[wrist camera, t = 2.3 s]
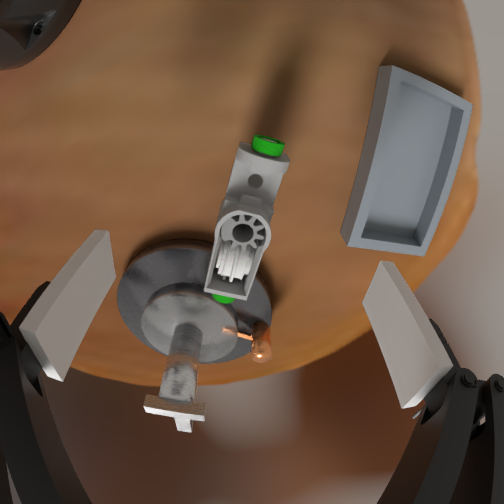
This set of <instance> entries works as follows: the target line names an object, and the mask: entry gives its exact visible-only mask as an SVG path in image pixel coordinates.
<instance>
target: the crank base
mask: <svg viewBox="0 0 504 504" xmlns="http://www.w3.org/2000/svg"><path fill="white" fill-rule="evenodd" d="M213 245H214V243H210V242H207V241H201V240H194V239H177V240H169V241H164V242H161V243H158V244H155V245H152V246H150V247H149V248H147V249H145V250H143V251H142V252H141V253H139V254H138V255H137V256H136V257H135V258H134V259H133V260H132V262H131V263H130V265H129V266H128V268H127V269H126V271H125V273H124V275H123V277H122V279H121V281H120V283H119V286H118V291H117V303H118V308H119V311H120V314H121V316H122V318H123V320H124V322H125V324H126V325H127V327H128V328H129V329H130V331H131V332H132V333H133V334H134V335H135V336H136V337H137V338H138V339H139V340H140V341H142V342H143V343H144V344H145V345H147V346H149V347H150V348H152V349H153V350H155V351H157V352H159V353H161V354H163V355H166V354H164V353H163V352H161V351H159V350H158V349H157V348H155V347H154V346H153V345H152V344H151V343H150V342H149V341H148V340H147V338H146V337H145V335H144V333H143V330H142V327H141V318H142V315H143V312H144V310H145V307H146V304H147V302H148V300H149V298H150V297H151V295H152V294H153V293H154V292H156V291H157V290H158V289H160V288H162V287H165V286H168V285H171V284H179V283H187V284H195V285H200V286H204V287H205V282H206V277H207V273H208V268H209V263H210V258H211V253H212V249H213ZM231 305H232V306H233V307H234V309H235V311H236V313H237V316H238V339H237V343H236V345H235V347H234V348H233V350H232V351H231V352H230V353H229V354H227V355H226V356H224V357H222V358H220V359H217V360H214V361H209V362H199V363H202V364H210V363H220V362H226V361H230V360H234V359H236V358H239V357H242V356H244V355H246V354H247V353H249V352H251V357H252V360H253V361H255V362H258V363H264V362H267V361H269V360H270V359H271V358H272V353H271V338H270V326H271V320H272V311H271V299H270V294H269V290H268V287H267V285H266V282H265V281H264V279H263V277H262V276H261V274H260V273H259V272H258V271H257V272H256V275H255V278H254V280H253V283H252V286H251V289H250V292H249V294H248V297H247V300H242V299H237V298H235V300H234V301H233V302H231ZM166 356H168V355H166Z"/></svg>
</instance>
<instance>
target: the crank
mask: <svg viewBox="0 0 504 504" xmlns="http://www.w3.org/2000/svg"><path fill="white" fill-rule="evenodd" d="M204 288H205V287H204V286H200V285H195V284H187V283H179V284H171V285H168V286H165V287H162V288H160V289H158V290H157V291H156V292H154V293H153V294H152V295H151V297H150V298H149V300H148V302H147V304H146V307H145V310H144V312H143V315H142V318H141V327H142V330H143V333H144V335H145V337H146V338H147V340H148V341H149V342H150V343H151V344H152V345H153V346H154V347H155V348H157V349H158V350H159V351H161V352H163V353H164V354H166V355H168V357H167V361H166V366H165V370H164V375H163V379H162V384H161V388H160V393H159V397H157V396H152V395H146V398H145V402H144V409H145V411H146V412H148V413H153V414H159V415H164V416H170V417H174V418H175V422H176V426H177V429H178V431H185V432H192V423H193V420H199V421H204V417H205V403H197V402H195V399H196V390H197V374H198V367H199V362H209V361H214V360H217V359H220V358H222V357H224V356H226V355H227V354H229V353H230V352H231V351H232V350H233V348H234V347H235V345H236V343H237V339H238V316H237V313H236V311H235V309H234V307H233V306H232V305H231V303H227V304H226V303H220V302H218V301H216V300H215V299H214V298H213V296H212V293H208V292H204Z"/></svg>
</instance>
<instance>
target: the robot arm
mask: <svg viewBox="0 0 504 504" xmlns="http://www.w3.org/2000/svg"><path fill="white" fill-rule="evenodd" d="M79 2H80V0H0V70H7V69H14V68H18V67H21V66H23V65H25V64H27V63H29V62H30V61H32V60H33V59H35V58H36V57H37V56H39V55H40V54H41V53H42V52H43V51H44V50H45V49H46V48H47V47H48V46H49V45H50V44H51V43H52V42H53V41H54V40H55V39H56V38H57V36H58V35H59V34H60V33H61V31H62V30H63V29H64V27H65V26H66V24H67V23H68V21H69V20H70V18H71V17H72V15H73V13H74V12H75V10H76V8H77V6H78V4H79ZM115 278H116V275H115V269H114V263H113V257H112V250H111V243H110V236H109V231H107V230H97V229H95V230H94V231H93V233H92V234H91V235H90V236H89V237H88V238H87V239H86V240H85V242H84V243H83V244H82V245H81V246H80V247H79V248H78V250H77V251H76V252H75V253H74V254H73V255H72V257H71V258H70V259H69V260H68V262H67V263H66V264H65V265H64V266H63V268H62V269H61V270H60V271H59V273H58V274H57V275H56V276H55V278H54V279H53V280H52V282H49V281H46V282H45V283H43V284H42V285H41V286H39V287H38V288H37V289H36V290H35V292H34V293H33V294H32V296H31V298H29V300H28V301H27V302H26V305H24V307H23V308H22V309H21V311H20V312H19V314H18V315H17V317H16V318H15V319H14V321H13V322H12V324H11V325H9V323H8V321H7V319H6V317H5V315H4V314H3V313H1V312H0V504H13V501H12V496H11V492H10V485H9V479H8V472H7V465H8V468H9V471H10V474H11V477H12V480H13V483H14V485H15V488H16V491H17V493H18V496H19V498H20V501H21V503H22V504H92V502H91V500H90V499H89V497H88V495H87V493H86V492H85V490H84V488H83V486H82V484H81V482H80V480H79V478H78V476H77V474H76V472H75V470H74V468H73V466H72V463H71V461H70V459H69V457H68V455H67V452H66V450H65V447H64V445H63V443H62V440H61V438H60V435H59V432H58V430H57V427H56V424H55V421H54V419H53V416H52V413H51V410H50V406H49V403H48V400H47V397H46V393H45V390H44V386H43V382H42V379H41V377H40V375H39V372H40V370H41V368H43V370H44V371H45V373H46V374H47V376H49V377H51V378H54V379H57V380H59V381H63V380H64V377H65V375H66V373H67V371H68V369H69V366H70V364H71V362H72V360H73V358H74V356H75V354H76V351H77V349H78V347H79V345H80V343H81V341H82V339H83V337H84V335H85V333H86V331H87V329H88V327H89V325H90V323H91V322H92V320H93V318H94V316H95V314H96V312H97V310H98V308H99V307H100V305H101V303H102V301H103V299H104V298H105V296H106V294H107V292H108V290H109V289H110V287H111V285H112V284H113V282H114V280H115ZM362 303H363V306H364V308H365V311H366V313H367V315H368V318H369V320H370V323H371V325H372V328H373V330H374V333H375V335H376V338H377V340H378V343H379V345H380V348H381V351H382V353H383V356H384V359H385V361H386V364H387V367H388V369H389V372H390V375H391V378H392V380H393V384H394V386H395V389H396V392H397V395H398V398H399V401H400V404H401V407H402V408H407V407H413V406H416V405H417V404H418V403H419V402H420V401H421V400H422V399H423V398H424V400H425V402H426V404H425V405H424V406H423V407H422V408H421V409H420V410H419V411H418V412H416V413H415V414H414V416H413V418H415V417H417V416H418V415H419V414H420V415H419V417H418V419H417V423H416V426H415V428H414V431H413V433H412V435H411V437H410V440H409V442H408V444H407V447H406V449H405V451H404V453H403V455H402V458H401V460H400V462H399V464H398V466H397V468H396V470H395V472H394V474H393V476H392V478H391V479H390V481H389V483H388V485H387V487H386V489H385V491H384V492H383V494H382V496H381V497H380V499H379V501H378V502H377V504H504V378H503V377H502V376H500V375H499V374H493V375H492V376H491V377H490V378H489V379H488V380H487V381H482V380H477V378H476V376H475V375H474V373H473V372H471V371H470V370H469V369H466V368H461V367H460V365H459V363H458V361H457V359H456V358H455V356H454V354H453V352H452V350H451V348H450V346H449V344H447V341H446V339H445V337H443V333H442V332H441V330H440V328H439V327H438V325H437V324H435V322H434V321H433V320H432V319H428V317H427V316H426V314H425V312H424V311H423V309H422V307H421V306H420V304H419V302H418V301H417V299H416V297H415V296H414V294H413V292H412V291H411V289H410V288H409V286H408V285H407V283H406V281H405V280H404V278H403V277H402V275H401V274H400V272H399V271H398V269H397V268H396V266H395V265H394V263H393V262H389V261H380V263H379V265H378V267H377V270H376V272H375V275H374V277H373V279H372V282H371V284H370V286H369V289H368V291H367V293H366V295H365V298H364V300H363V302H362ZM484 416H485V421H486V422H484V423H483V424H482V425H480V419H482V418H483V417H484ZM6 462H7V465H6Z"/></svg>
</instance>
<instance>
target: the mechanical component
mask: <svg viewBox="0 0 504 504" xmlns="http://www.w3.org/2000/svg"><path fill="white" fill-rule="evenodd" d="M284 145H285V143H283V142H281V141H279V140H277V139H274V138H271V137H267V136H263V135H254V138H253V141H252V144H248V143H244V142H240V144H239V147H238V150H237V154H236V158H235V161H234V165H233V169H232V173H231V176H230V180H229V184H228V188H227V192H226V196H225V198H224V199H223V201H222V203H221V206H220V211H219V215H218V219H217V224H216V228H215V240H214V245H213V249H212V253H211V258H210V263H209V268H208V273H207V277H206V282H205V288H204V292H208V293H212V296H213V298H214V299H215V300H216V301H218V302H220V303H226V304H227V303H231V302H233V301H234V300H235V298H237V299H242V300H247V297H248V294H249V292H250V289H251V286H252V283H253V280H254V278H255V275H256V272H257V269H258V266H259V263H260V261H261V258H262V255H263V252H264V251H265V250H266V248H267V247H268V245H269V243H270V240H271V229H270V221H271V218H272V215H273V212H274V210H273V204H274V201H275V198H276V195H277V192H278V189H279V186H280V183H281V180H282V177H283V174H284V173H286V172H287V169H288V166H289V163H290V160H289V158H288V156H287V154H284V153H282V152H283V148H284Z"/></svg>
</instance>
